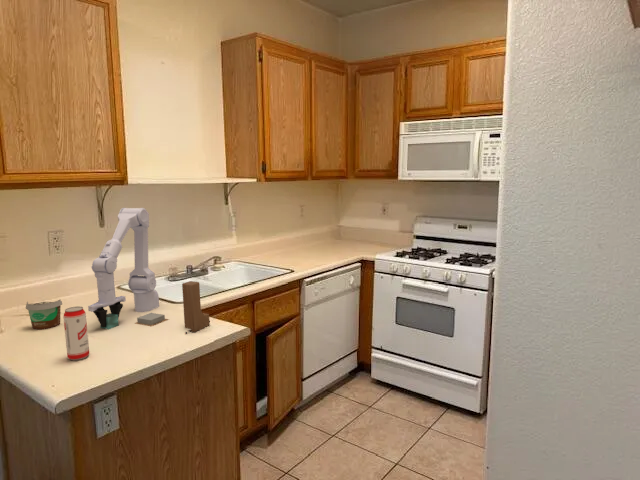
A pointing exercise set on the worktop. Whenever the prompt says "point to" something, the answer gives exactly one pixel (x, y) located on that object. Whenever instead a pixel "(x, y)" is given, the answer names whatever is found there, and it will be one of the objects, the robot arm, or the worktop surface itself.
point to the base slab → (153, 324)
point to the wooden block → (193, 307)
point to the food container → (44, 314)
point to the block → (111, 321)
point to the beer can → (76, 333)
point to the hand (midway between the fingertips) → (109, 324)
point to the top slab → (151, 318)
